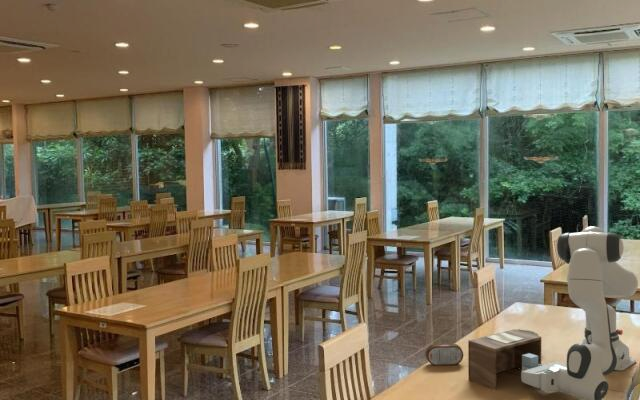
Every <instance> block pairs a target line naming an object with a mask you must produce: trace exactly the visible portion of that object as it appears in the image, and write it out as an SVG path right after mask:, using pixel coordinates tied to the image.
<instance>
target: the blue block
mask: <svg viewBox="0 0 640 400" xmlns="http://www.w3.org/2000/svg"><path fill="white" fill-rule="evenodd" d="M523 366H527V367H528V368H529V369H531V368H534V367H538V356H537V355H533V354H530V353H528V354H525V355H522V367H523ZM522 383H524V382H522ZM524 384H525V383H524Z"/></svg>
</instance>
